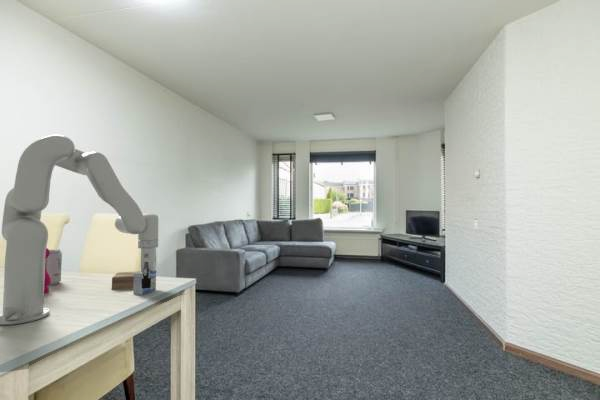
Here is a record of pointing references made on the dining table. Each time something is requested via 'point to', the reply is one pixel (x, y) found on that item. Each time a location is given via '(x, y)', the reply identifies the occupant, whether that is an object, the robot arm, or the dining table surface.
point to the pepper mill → (46, 273)
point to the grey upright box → (54, 266)
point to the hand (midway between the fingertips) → (147, 284)
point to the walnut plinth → (123, 280)
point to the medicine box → (138, 283)
